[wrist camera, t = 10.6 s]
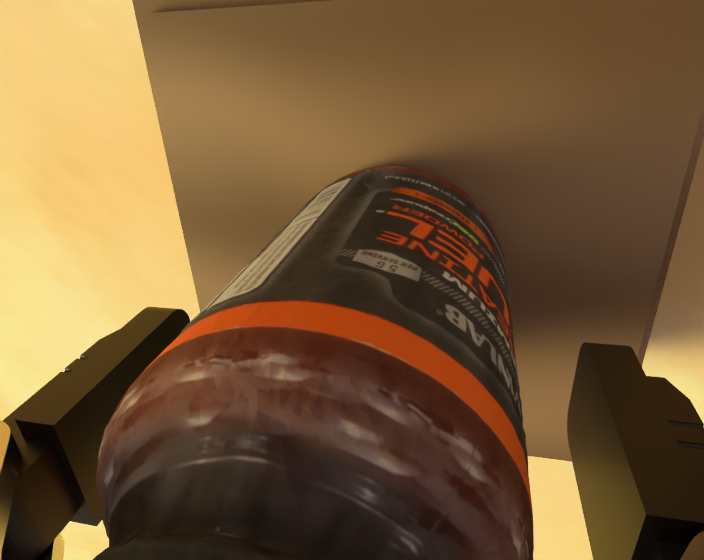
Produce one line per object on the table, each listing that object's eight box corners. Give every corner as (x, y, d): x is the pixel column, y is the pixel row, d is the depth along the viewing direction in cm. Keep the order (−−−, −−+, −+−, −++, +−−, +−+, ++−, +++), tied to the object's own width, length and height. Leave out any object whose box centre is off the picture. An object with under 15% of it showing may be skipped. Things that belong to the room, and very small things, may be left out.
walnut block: (236, 5, 18) (117, -4, 12) (653, -24, 15) (769, -55, 9) (279, 324, 25) (215, 423, 19) (580, 349, 22) (620, 477, 16)
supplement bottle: (555, 254, 13) (818, 1023, 3) (410, 382, 16) (302, 982, 6) (374, 107, 12) (-63, 474, 2) (258, 269, 15) (-152, 737, 5)
